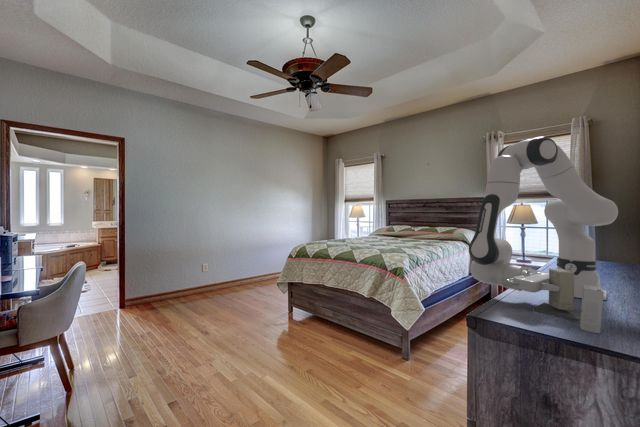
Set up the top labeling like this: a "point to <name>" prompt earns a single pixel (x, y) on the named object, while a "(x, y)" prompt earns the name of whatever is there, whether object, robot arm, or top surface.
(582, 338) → the top surface
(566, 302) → the skincare box
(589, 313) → the skincare box
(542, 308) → the charcoal mat
